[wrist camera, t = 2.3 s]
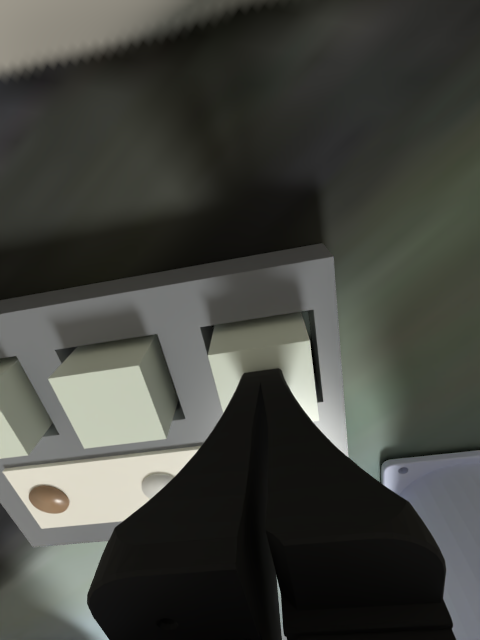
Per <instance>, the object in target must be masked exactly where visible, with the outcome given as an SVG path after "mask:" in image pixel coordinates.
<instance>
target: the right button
mask: <svg viewBox="0 0 480 640" xmlns="http://www.w3.org/2000/svg"><path fill="white" fill-rule="evenodd" d="M208 358H209V362H210V366H211V369H212V373H213V377H214V381H215V384H216V388H217V392H218V395H219V399H220V403H221V407H222V410H223V413H224V411H225V409H226V407H227V406H228V404H229V402H230V400H231V398H232V396H233V394H234V392H235V390H236V388H237V386H238V384H239V381H240V379H241V376H242V375H243V374H244V373H247V372H254V371H261V370H268V369H276V368H279V369H281V370H282V373H283V376H284V378H285V381H286V383H287V385H288V387H289V388H290V390H291V392H292V394H293V395H294V397H295V398H296V400H297V401H298V403H299V404H300V406H301V407H302V408H303V410H304V411H305V413H306V414H307V415H308V416H309V418H310V419H311V420H312V421H319V414H318V406H317V397H316V389H315V380H314V372H313V363H312V355H311V346H310V339H309V336H308V333H307V330H306V326H305V323H304V320H303V316H302V313H301V312H294V313H288V314H281V315H275V316H269V317H262V318H256V319H249V320H243V321H237V322H230V323H224V324H217V325H215V326H214V330H213V335H212V339H211V343H210V348H209V352H208Z"/></svg>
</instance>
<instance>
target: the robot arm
mask: <svg viewBox="0 0 480 640" xmlns="http://www.w3.org/2000/svg"><path fill="white" fill-rule="evenodd" d="M381 481H382V484H381V483H380V482H378V481H377V480H376V479H375V478H373V477H372V476H371V475H369V474H368V473H367V472H365V471H364V470H363V469H361V468H360V467H359V466H358V465H357V464H355V463H354V462H353V461H352V460H351V459H350V458H348V457H347V456H346V455H345V454H344V453H343V452H341V451H340V450H339V449H338V448H337V447H336V446H335V445H334V444H333V443H332V442H331V441H330V440H329V439H328V438H327V437H326V436H325V435H324V434H323V433H322V432H321V431H320V429H319V428H318V427H317V426H316V425H315V424H314V423H313V421H312V420H311V419H310V418H309V416H308V415H307V414H306V413H305V411H304V410H303V408H302V407H301V406H300V404H299V403H298V401H297V400H296V398H295V397H294V395H293V394H292V392H291V390H290V388H289V387H288V385H287V383H286V381H285V378H284V376H283V373H282V370H281V369H279V368H276V369H268V370H261V371H254V372H247V373H244V374H243V375H242V376H241V379H240V381H239V384H238V386H237V388H236V390H235V392H234V394H233V396H232V398H231V400H230V402H229V404H228V406H227V407H226V409H225V411H224V413H223V415H222V416H221V418H220V419H219V421H218V423H217V424H216V426H215V427H214V429H213V430H212V432H211V433H210V435H209V436H208V438H207V439H206V440H205V442H204V443H203V444H202V446H201V447H200V448H199V450H198V451H197V452H196V453H195V455H194V456H193V457H192V458H191V459H190V460H189V461H188V463H187V464H186V465H185V466H184V467H183V468H182V469H181V470H180V472H179V473H178V474H177V475H176V476H175V477H174V478H173V479H172V480H171V481H170V482H169V483H168V484H167V485H166V486H165V487H163V488H162V489H161V490H160V491H159V492H158V493H157V494H156V495H155V496H154V497H152V498H151V499H150V500H149V501H148V502H147V503H145V504H144V505H143V506H142V507H140V508H139V509H138V510H137V511H135V512H134V513H133V514H132V515H130V516H129V517H128V518H127V519H125V520H124V521H123V522H121V523H120V524H119V525H117V526H116V527H115V528H114V531H113V533H112V535H111V537H110V539H109V541H108V543H107V545H106V547H105V550H104V552H103V555H102V557H101V560H100V562H99V565H98V568H97V570H96V573H95V576H94V578H93V581H92V584H91V586H90V589H89V592H88V594H87V604H88V607H89V609H90V611H91V613H92V615H93V617H94V619H95V620H96V621H97V623H98V624H99V626H100V627H101V628H102V630H103V631H104V633H105V634H106V635H107V637H108V638H109V640H282V636H281V625H280V614H279V602H278V590H277V579H278V583H279V587H280V591H281V601H282V616H283V630H284V635H285V636H286V637H287V640H480V450H477V451H467V452H457V453H448V454H438V455H428V456H419V457H409V458H399V459H390V460H387V461H385V462H384V463H383V464H382V466H381ZM276 575H277V578H276Z"/></svg>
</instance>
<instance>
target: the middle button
mask: <svg viewBox="0 0 480 640" xmlns="http://www.w3.org/2000/svg"><path fill="white" fill-rule="evenodd" d="M48 380H49V382H50V384H51V386H52V388H53V390H54V392H55V393H56V395H57V397H58V399H59V401H60V403H61V405H62V407H63V409H64V411H65V413H66V415H67V416H68V418H69V420H70V422H71V424H72V426H73V428H74V430H75V432H76V434H77V436H78V438H79V439H80V441H81V443H82V445H83V447H84V449H86V448H95V447H103V446H111V445H120V444H128V443H137V442H145V441H154V440H162V439H167V436H168V432H169V429H170V426H171V423H172V419H173V416H174V413H175V410H176V406H177V403H178V397H177V394H176V391H175V388H174V385H173V382H172V379H171V376H170V373H169V370H168V367H167V364H166V361H165V358H164V355H163V352H162V349H161V346H160V343H159V340H158V337H157V334H153V335H147V336H140V337H134V338H128V339H121V340H115V341H108V342H102V343H96V344H89V345H83V346H78V347H77V348H76V349H75V350H74V351H73V352H72V353H71V354H70V355H69V356H68V357H67V359H66V360H65V361H64V362H63V363H62V364H61V365H60V366H59V367H58V368H57V369H56V370H55V372H54V373H53V374H52V375H51V376H50V377H49V378H48Z"/></svg>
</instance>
